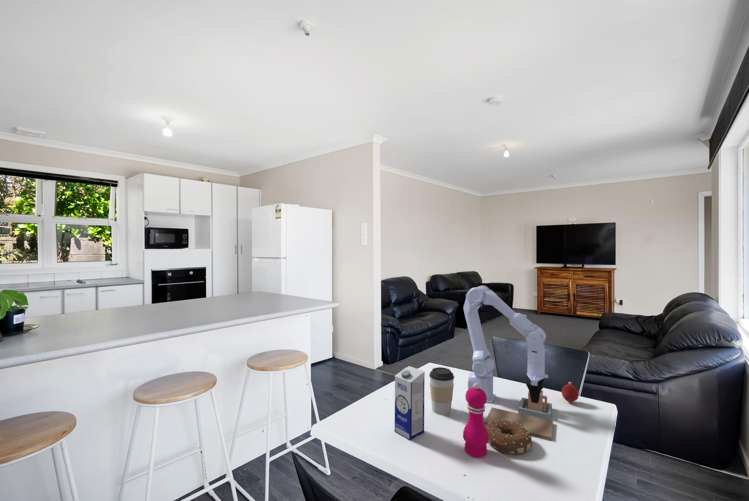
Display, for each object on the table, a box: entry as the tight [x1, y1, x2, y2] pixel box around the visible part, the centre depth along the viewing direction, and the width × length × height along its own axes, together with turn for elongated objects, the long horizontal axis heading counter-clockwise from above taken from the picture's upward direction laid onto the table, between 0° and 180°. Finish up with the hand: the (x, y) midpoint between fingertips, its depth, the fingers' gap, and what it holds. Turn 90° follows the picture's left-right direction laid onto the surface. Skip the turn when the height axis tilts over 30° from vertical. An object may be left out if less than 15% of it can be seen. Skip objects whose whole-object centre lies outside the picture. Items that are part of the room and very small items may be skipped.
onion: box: [561, 381, 580, 404], centre depth 134 cm, size 6×6×8 cm
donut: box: [485, 419, 533, 455], centre depth 106 cm, size 14×14×5 cm
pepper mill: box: [462, 383, 489, 459], centre depth 101 cm, size 7×7×20 cm
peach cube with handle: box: [527, 390, 548, 412], centre depth 127 cm, size 6×5×7 cm
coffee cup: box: [428, 366, 455, 416], centre depth 127 cm, size 9×9×15 cm
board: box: [484, 406, 554, 442], centre depth 118 cm, size 20×12×1 cm, turn 61°
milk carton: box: [394, 365, 426, 441], centre depth 112 cm, size 7×7×20 cm
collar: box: [517, 397, 553, 421], centre depth 127 cm, size 10×10×2 cm
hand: (535, 398), depth 127 cm, fingers open, 7 cm apart
